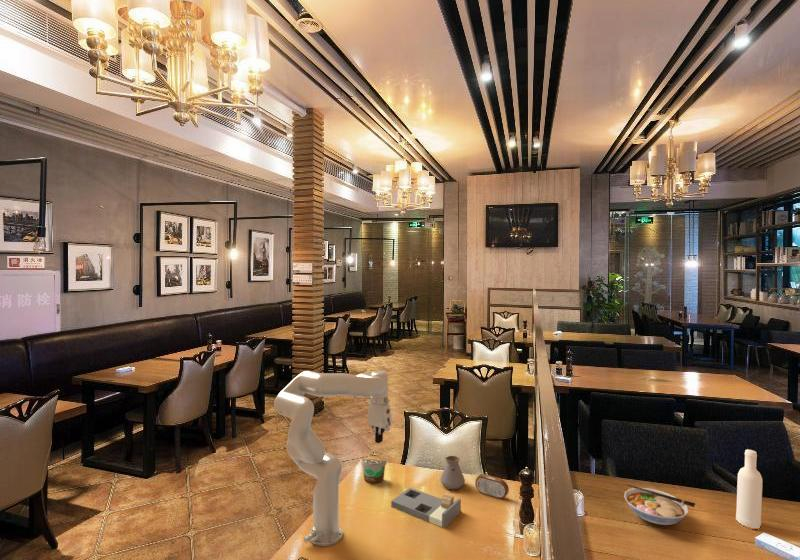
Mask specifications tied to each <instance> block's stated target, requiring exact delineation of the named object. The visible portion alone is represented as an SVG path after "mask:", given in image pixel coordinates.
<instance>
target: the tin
mask: <svg viewBox="0 0 800 560" xmlns="http://www.w3.org/2000/svg"><path fill="white" fill-rule="evenodd" d="M475 487H476V489H477V490H478V491H479V492H480V493H481V494H483V495H487V496H490V497H493V498H496V499H500V500H501V499H504V498H505V497H506V496H507V495H508V494H509V489H510V488H509V486H508V484H507V482H506V481H505V480H504V479H502V478H500V477H496V476H493V475H489V474H485V473H481V474H479V475H478V476H477V477H476V478H475Z"/></svg>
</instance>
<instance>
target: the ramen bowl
mask: <svg viewBox="0 0 800 560" xmlns="http://www.w3.org/2000/svg"><path fill="white" fill-rule="evenodd" d="M626 486H628V487H630V488H629V489H627V490H626V491H624V497H623V498H624V499H625V501H626V503H627V504H628V506H629V508H630V509H631V511H632V512H633V513H634V514H635V515H637V516H638V517H640V518H641V519H642V520H644V521H647V522H649V523H653V524H655V525H661V526H668V525H669V526H670V525H675V524H678V523H679V522H680V521H682V520H683V519H684V518H685V517H686V516H687V515H688V514H689V508H688V506H689V507H692V508H695V506H696V503H695V502H692V501H689V500H685V499H681V498H678V497H677V496H675V495H672V494H671V493H668V492H665V491H662V490H658V489H655V488H649V487H639V486H638V487H637V486H634V485H629V484H626Z"/></svg>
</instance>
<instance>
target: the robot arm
mask: <svg viewBox="0 0 800 560" xmlns="http://www.w3.org/2000/svg"><path fill="white" fill-rule="evenodd" d="M305 394H307V395H311V396H314V397H317V398H319V397H320V398H321V397H323V398H324V397H325V398H326V397H335V396H345V397H366V398H370V401H369V404H368V408H367V409H368V410H367V424H368V426H369V427H371V428H372V430H373V433H374V439H375V440H374V442H375V443H377V444H381V443H382V442H383V440H384V433H385V432H389V431H390V430H391V429H390V427H391V426H392V410H391V405H390V399H389V375H388V372H386V371H385V370H374V371H372V372H364V373H358V374H357V375H354V374H350V373H343V372H342V373H341V372H338V373H336V372H335V373H334V372H333V373H332V372H331V373H330V372H329V373H328V372H327V373H326V372H325V373H321V372H316V371H313V370H304V371H302V372H301V373H299V374H298V375H297V376H296V377H294V378H293V379H292V380H290V382H289V383H288V384H287V385H286V386H285V387H283V389H282V390H281V391H280V392H279V393H278V394H277V396H275V399H274V402H273V407H274V410H275V412H276V413H277V414H279V415H281V416H284V417H286V418H289V419H291V422H290V423H289V428H288V432H287V440H286V444H285V449H286V453H287V455H288V456H289V457H290V459H291V460H292V461H293V462H294V463H295V464H296V465H297V467H298V468H299V469H300V470H301V471H303V472H304V473H305V474H307V475H310V476H312V477H313V478H315V479H316V484H315V485H314V488H313V493H312V496H313V497H312V498H313V499H312V504H313V506H312V507H313V509H312V510H313V511H312V512H313V513H312V514H313V515H312V516H313V517H312V518H313V520H312V521H313V526H312V527H311V528H310V529H311V530H310V532H309V534H308V535H305V537H303V541H304V543H306V544H307V543H308V542H311V543H312V544H313V545H315V546H318V547H319V546H320V547H329V546H332V545H335V544H337V543H339V542H340V541H341V540H342V538H343V536H344V533H343V532H344V531H343V528H342V527H341V526H339V525H340V524H339V521H340V520H339V519H340V518H339V510H340V509H339V508H340V507H339V503H340V502H339V495H340V494H339V485H340V478H341V473H342V463H341V461H340V459H339V458H338V457H337V456H335V455H333V454H332V453H329V452H326V448H325V444H324V442H323V441H322V440H321V439H320V437H319V436H318V435H317V434H316V433H315V431H314V430H313V428H312V420H313V417H314V413H315V406H314V403H313V402H312V400H311V399H310V398H308V397H306V396H305Z"/></svg>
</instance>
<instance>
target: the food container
mask: <svg viewBox="0 0 800 560" xmlns="http://www.w3.org/2000/svg"><path fill="white" fill-rule="evenodd" d="M386 465H387V460H386V458H385V459H384V460H378V459H364V458H363V457H362V459H361V466H362V468H363V469H362V471H363V478H364V479H363V480H364V481H365V483H368V484H371V485H375V484H380V483H382V482H383V481H384V479H385V470H386Z"/></svg>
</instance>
